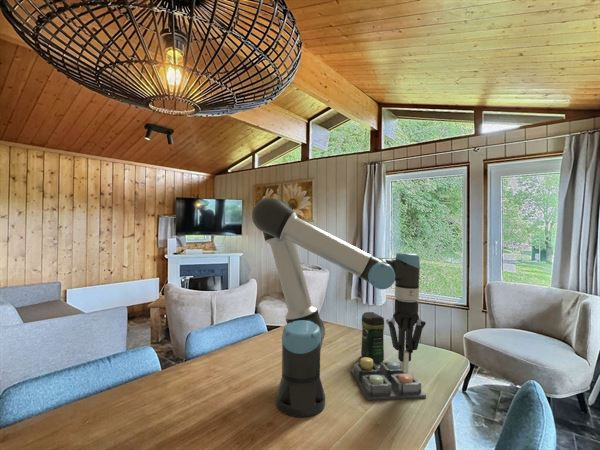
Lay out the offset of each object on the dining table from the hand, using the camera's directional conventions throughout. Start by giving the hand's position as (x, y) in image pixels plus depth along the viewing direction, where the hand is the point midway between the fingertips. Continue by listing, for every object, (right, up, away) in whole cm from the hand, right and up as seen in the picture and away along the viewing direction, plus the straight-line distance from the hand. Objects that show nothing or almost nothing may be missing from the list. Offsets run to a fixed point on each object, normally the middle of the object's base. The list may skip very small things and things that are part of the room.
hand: (404, 370), depth 106 cm
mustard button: (-11, -3, +9) cm, 14 cm away
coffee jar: (-5, -7, +25) cm, 26 cm away
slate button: (-1, -5, +10) cm, 11 cm away
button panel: (-5, -6, +4) cm, 9 cm away
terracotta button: (0, -5, 0) cm, 5 cm away
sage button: (-10, -5, -1) cm, 11 cm away
